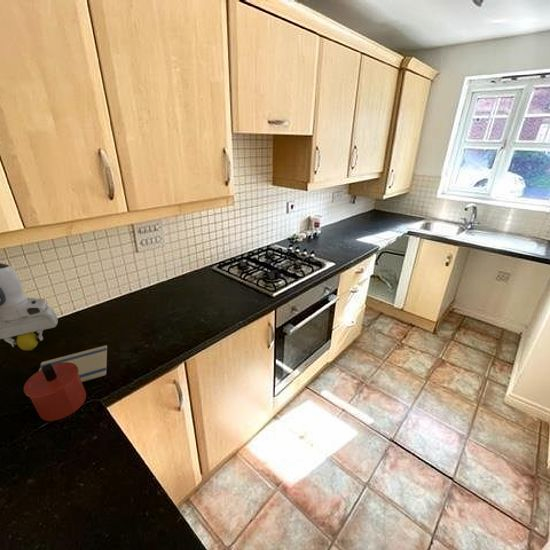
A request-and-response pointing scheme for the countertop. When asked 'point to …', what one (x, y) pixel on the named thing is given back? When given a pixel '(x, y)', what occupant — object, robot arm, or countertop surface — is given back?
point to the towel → (85, 362)
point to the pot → (61, 402)
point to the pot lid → (50, 379)
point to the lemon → (27, 341)
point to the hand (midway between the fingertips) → (28, 342)
